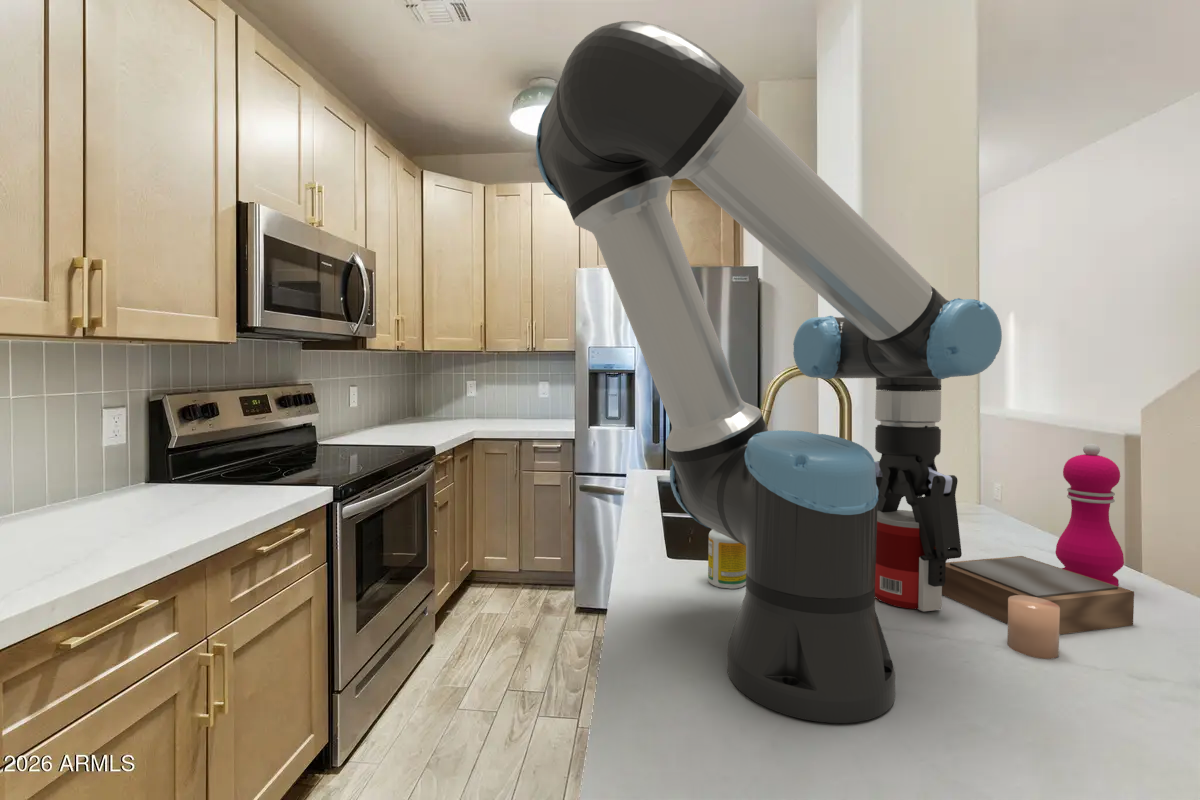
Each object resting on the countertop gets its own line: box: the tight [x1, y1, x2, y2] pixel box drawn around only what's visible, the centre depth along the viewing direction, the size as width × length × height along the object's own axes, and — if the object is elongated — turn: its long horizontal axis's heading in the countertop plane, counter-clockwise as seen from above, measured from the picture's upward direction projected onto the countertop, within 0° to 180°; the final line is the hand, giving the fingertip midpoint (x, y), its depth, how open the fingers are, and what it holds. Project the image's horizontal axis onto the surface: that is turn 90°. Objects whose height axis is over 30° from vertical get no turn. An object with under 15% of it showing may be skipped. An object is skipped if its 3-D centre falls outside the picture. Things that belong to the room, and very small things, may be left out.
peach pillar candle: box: [1006, 595, 1060, 660], centre depth 61 cm, size 4×4×5 cm
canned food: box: [875, 509, 936, 610], centre depth 75 cm, size 8×8×11 cm
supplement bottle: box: [707, 529, 746, 590], centre depth 81 cm, size 5×5×10 cm
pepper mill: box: [1055, 443, 1125, 587], centre depth 79 cm, size 7×7×20 cm
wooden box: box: [942, 555, 1135, 636], centre depth 72 cm, size 14×14×4 cm
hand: (904, 596), depth 75 cm, fingers closed on canned food, 8 cm apart
